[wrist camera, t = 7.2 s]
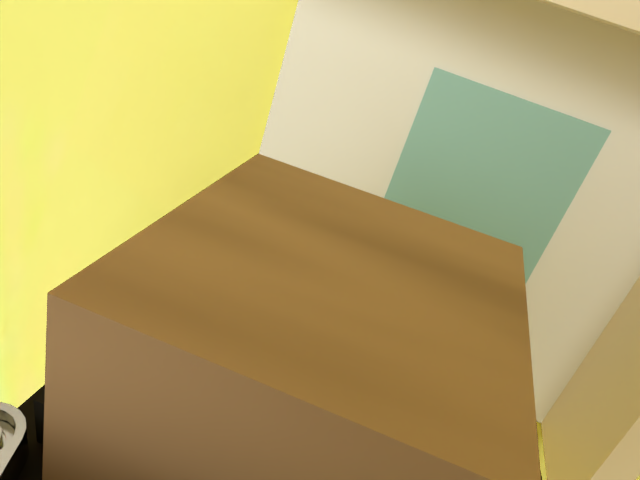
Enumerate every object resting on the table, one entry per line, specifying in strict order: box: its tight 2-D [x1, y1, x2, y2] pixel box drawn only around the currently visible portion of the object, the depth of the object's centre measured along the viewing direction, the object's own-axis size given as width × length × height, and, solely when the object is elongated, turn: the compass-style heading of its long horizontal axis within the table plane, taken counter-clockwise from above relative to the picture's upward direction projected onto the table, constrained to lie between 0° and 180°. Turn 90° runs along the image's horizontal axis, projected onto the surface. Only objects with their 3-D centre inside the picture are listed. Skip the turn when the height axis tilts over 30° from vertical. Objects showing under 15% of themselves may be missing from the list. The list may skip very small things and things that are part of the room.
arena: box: [259, 0, 640, 480], centre depth 21 cm, size 18×18×7 cm
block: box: [42, 154, 541, 480], centre depth 9 cm, size 8×5×6 cm, turn 164°
